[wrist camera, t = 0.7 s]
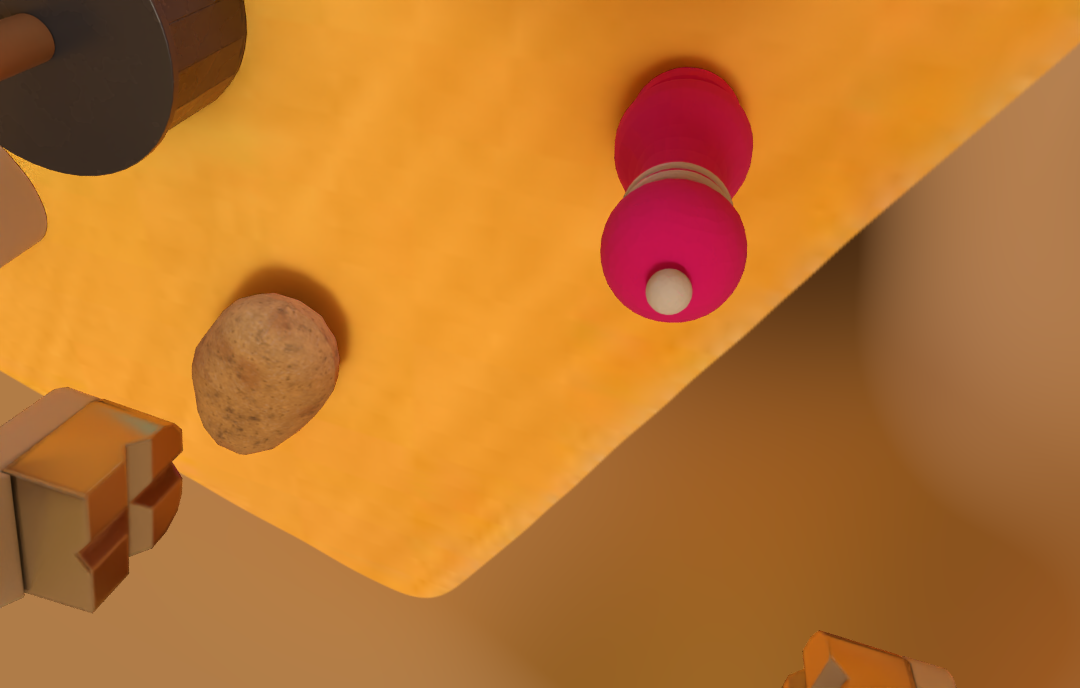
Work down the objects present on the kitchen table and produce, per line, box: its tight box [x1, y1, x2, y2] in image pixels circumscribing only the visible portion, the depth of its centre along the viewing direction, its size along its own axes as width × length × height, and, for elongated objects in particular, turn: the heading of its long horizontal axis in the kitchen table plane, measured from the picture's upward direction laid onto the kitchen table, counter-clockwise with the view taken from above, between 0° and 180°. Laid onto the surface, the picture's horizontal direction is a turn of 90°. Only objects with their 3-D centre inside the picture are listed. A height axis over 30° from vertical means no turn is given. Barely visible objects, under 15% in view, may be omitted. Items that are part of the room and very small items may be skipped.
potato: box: [192, 293, 340, 455], centre depth 58 cm, size 10×14×8 cm
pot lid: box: [0, 0, 179, 176], centre depth 40 cm, size 15×15×5 cm
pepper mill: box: [600, 67, 753, 322], centre depth 39 cm, size 7×7×20 cm
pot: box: [159, 0, 246, 130], centre depth 45 cm, size 14×14×8 cm
